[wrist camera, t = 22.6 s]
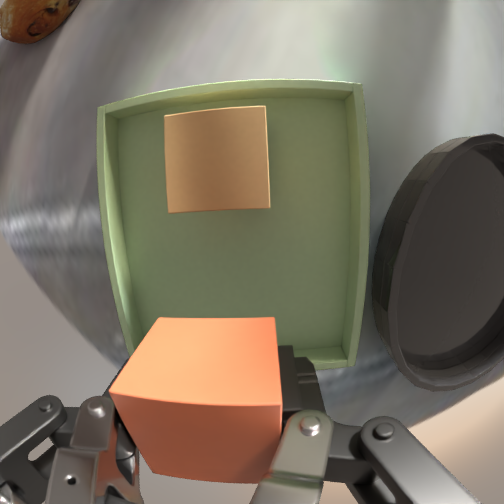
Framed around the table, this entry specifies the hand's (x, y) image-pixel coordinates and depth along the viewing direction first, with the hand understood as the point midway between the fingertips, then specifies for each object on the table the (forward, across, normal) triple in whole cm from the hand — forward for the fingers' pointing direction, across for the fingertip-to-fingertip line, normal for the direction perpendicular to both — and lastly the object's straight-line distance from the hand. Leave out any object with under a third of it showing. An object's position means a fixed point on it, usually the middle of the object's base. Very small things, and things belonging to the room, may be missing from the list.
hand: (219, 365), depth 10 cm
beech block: (+7, 0, -8) cm, 11 cm away
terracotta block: (0, 0, 0) cm, 0 cm away
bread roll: (+8, +17, -28) cm, 33 cm away
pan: (+7, -19, -1) cm, 20 cm away
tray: (+7, 0, -4) cm, 8 cm away
